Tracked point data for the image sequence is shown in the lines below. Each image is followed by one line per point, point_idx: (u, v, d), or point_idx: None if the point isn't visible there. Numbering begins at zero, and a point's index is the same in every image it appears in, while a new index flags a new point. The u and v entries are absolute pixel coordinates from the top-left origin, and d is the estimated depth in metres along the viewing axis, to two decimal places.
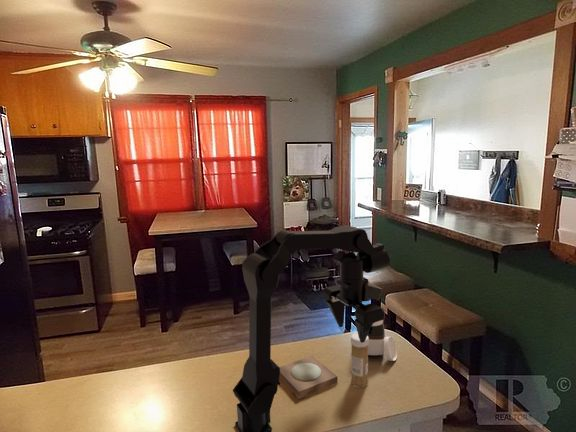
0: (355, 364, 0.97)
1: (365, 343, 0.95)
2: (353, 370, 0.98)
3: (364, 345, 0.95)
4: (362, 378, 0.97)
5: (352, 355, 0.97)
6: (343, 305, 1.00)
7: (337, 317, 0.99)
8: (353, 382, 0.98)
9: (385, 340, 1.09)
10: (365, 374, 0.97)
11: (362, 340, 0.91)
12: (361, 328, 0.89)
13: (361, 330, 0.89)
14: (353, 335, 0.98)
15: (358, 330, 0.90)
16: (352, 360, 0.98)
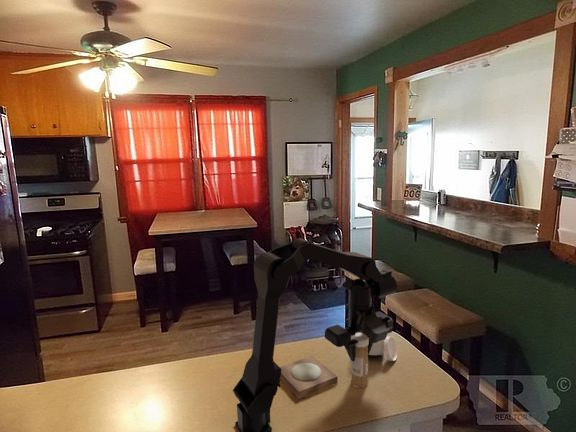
0: (355, 364, 0.97)
1: (365, 343, 0.95)
2: (353, 370, 0.98)
3: (364, 345, 0.95)
4: (362, 378, 0.97)
5: None
6: None
7: None
8: (353, 382, 0.98)
9: (385, 340, 1.09)
10: (365, 374, 0.97)
11: (350, 358, 0.97)
12: None
13: (344, 345, 0.97)
14: None
15: None
16: None
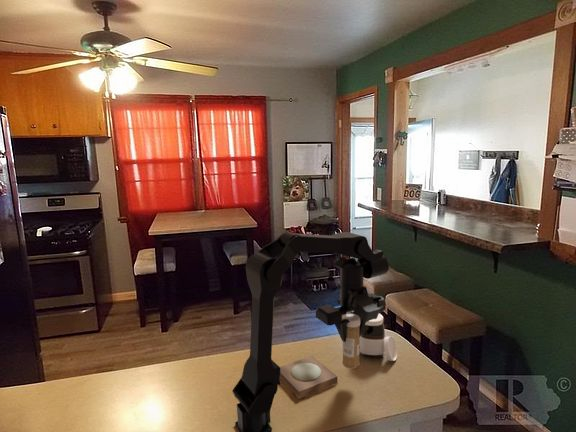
0: (346, 344, 0.96)
1: (357, 323, 0.95)
2: (344, 351, 0.97)
3: (355, 325, 0.95)
4: (353, 359, 0.96)
5: None
6: None
7: None
8: (344, 363, 0.98)
9: (385, 340, 1.09)
10: (356, 355, 0.96)
11: (341, 338, 0.96)
12: None
13: (335, 325, 0.96)
14: None
15: None
16: None
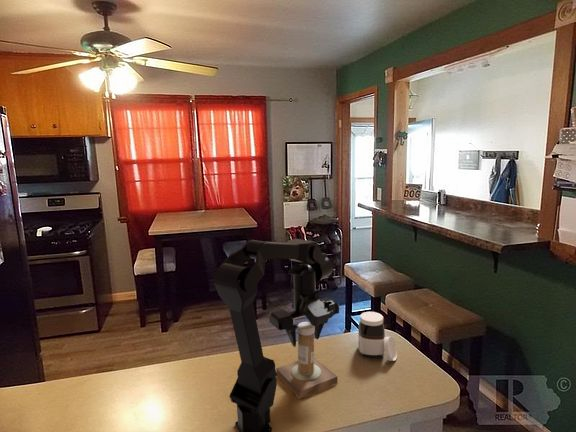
0: (301, 352, 0.99)
1: (310, 331, 0.97)
2: (299, 358, 1.00)
3: (309, 333, 0.97)
4: (307, 366, 0.99)
5: (298, 343, 0.99)
6: None
7: None
8: (299, 370, 1.00)
9: (385, 340, 1.09)
10: (310, 362, 0.99)
11: (292, 343, 0.98)
12: None
13: (286, 330, 0.98)
14: (300, 324, 1.00)
15: None
16: (298, 348, 1.00)
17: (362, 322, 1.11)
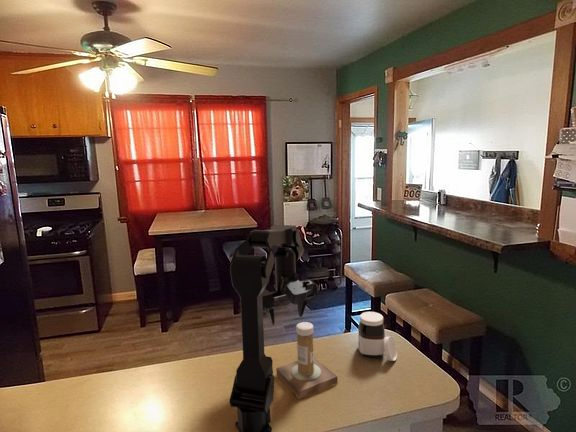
0: (300, 352, 0.99)
1: (309, 331, 0.97)
2: (298, 358, 1.00)
3: (308, 334, 0.97)
4: (307, 366, 0.99)
5: (297, 344, 0.99)
6: None
7: (298, 305, 1.11)
8: (299, 370, 1.00)
9: (385, 340, 1.09)
10: (310, 362, 0.99)
11: (270, 321, 1.06)
12: (264, 307, 1.06)
13: (265, 310, 1.06)
14: (299, 324, 1.00)
15: None
16: (297, 349, 0.99)
17: (362, 322, 1.11)
